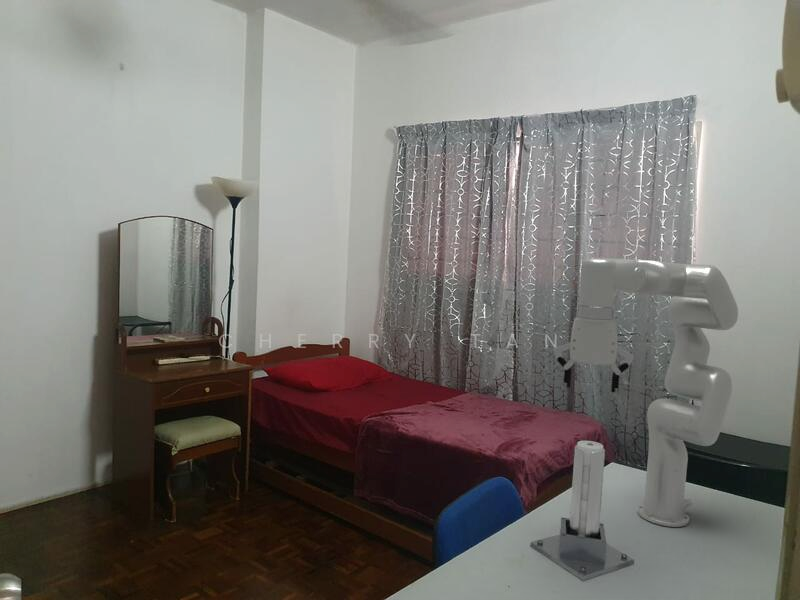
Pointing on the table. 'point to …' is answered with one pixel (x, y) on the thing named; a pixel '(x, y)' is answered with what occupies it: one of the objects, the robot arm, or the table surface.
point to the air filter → (587, 489)
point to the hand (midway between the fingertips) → (590, 388)
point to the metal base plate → (582, 553)
